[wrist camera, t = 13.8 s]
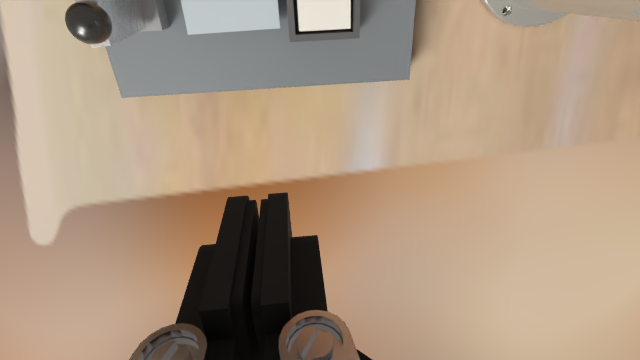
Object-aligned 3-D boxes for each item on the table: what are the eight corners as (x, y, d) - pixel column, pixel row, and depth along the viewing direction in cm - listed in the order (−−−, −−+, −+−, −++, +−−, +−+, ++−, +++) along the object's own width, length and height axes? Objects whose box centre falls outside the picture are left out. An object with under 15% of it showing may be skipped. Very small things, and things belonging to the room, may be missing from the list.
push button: (345, -31, 28) (350, -32, 26) (345, 25, 30) (350, 28, 28) (294, -28, 28) (295, -29, 25) (298, 27, 30) (299, 31, 27)
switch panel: (412, -105, 29) (438, -122, 24) (400, 72, 36) (418, 86, 31) (79, -94, 27) (36, -109, 22) (134, 88, 34) (109, 106, 29)
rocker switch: (274, -25, 27) (275, -25, 26) (278, 26, 29) (280, 28, 28) (178, -20, 26) (176, -20, 25) (189, 33, 28) (187, 34, 27)
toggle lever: (144, -9, 26) (95, -4, 17) (153, 27, 27) (112, 49, 18) (115, -8, 25) (48, -2, 16) (125, 28, 27) (69, 52, 18)
